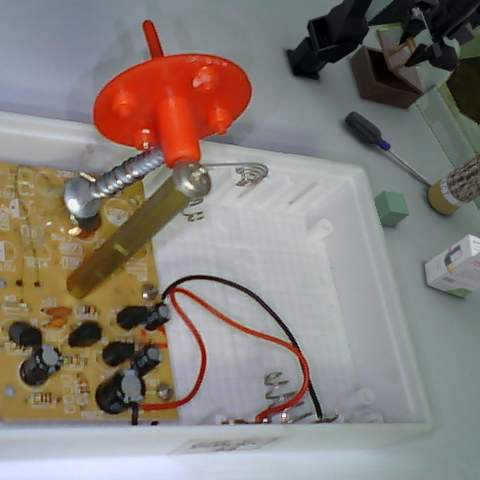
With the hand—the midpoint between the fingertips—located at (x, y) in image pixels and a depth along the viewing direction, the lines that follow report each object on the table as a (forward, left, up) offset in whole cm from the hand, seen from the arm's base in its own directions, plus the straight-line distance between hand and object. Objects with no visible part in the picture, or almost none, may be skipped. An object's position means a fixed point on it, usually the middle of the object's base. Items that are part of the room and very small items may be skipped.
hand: (403, 57), depth 163 cm
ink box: (-1, -47, -9) cm, 48 cm away
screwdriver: (-3, -20, -9) cm, 22 cm away
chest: (+1, 0, -9) cm, 9 cm away
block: (-11, -34, -9) cm, 36 cm away
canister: (+6, -29, -9) cm, 31 cm away
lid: (+1, 0, -2) cm, 2 cm away
